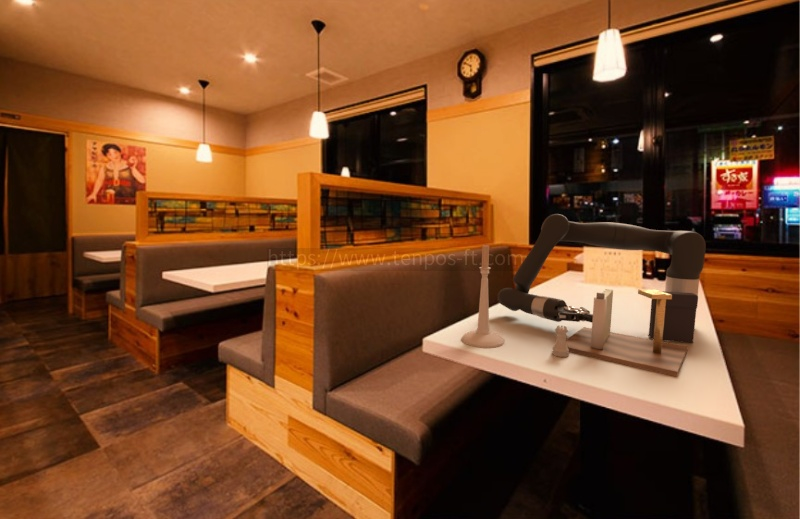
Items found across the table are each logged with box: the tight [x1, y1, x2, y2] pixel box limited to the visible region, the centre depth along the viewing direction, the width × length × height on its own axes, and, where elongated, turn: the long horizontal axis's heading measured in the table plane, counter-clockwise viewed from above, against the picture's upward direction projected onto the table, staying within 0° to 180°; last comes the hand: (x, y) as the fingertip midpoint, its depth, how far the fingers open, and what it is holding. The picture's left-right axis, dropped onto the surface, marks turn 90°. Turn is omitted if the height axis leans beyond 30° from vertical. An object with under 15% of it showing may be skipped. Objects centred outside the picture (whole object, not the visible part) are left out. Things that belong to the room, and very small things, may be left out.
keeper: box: [637, 288, 672, 354], centre depth 106 cm, size 7×5×18 cm
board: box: [566, 326, 689, 377], centre depth 109 cm, size 24×28×1 cm
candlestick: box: [461, 244, 505, 349], centre depth 115 cm, size 13×13×30 cm
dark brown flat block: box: [648, 290, 699, 344], centre depth 117 cm, size 11×4×15 cm, turn 71°
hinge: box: [591, 288, 614, 349], centre depth 112 cm, size 18×3×16 cm, turn 143°
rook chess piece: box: [551, 325, 570, 358], centre depth 105 cm, size 4×4×8 cm
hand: (598, 319), depth 115 cm, fingers closed
